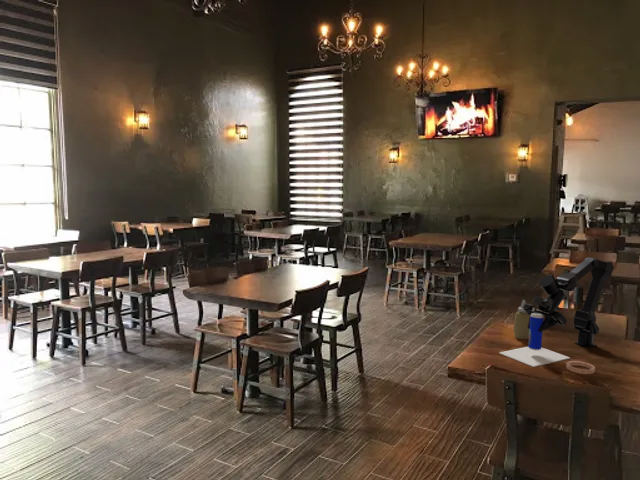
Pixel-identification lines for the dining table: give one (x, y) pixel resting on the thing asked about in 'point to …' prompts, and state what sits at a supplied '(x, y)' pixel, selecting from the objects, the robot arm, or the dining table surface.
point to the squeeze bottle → (521, 323)
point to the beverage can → (535, 331)
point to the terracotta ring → (581, 371)
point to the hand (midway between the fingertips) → (533, 329)
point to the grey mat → (534, 356)
